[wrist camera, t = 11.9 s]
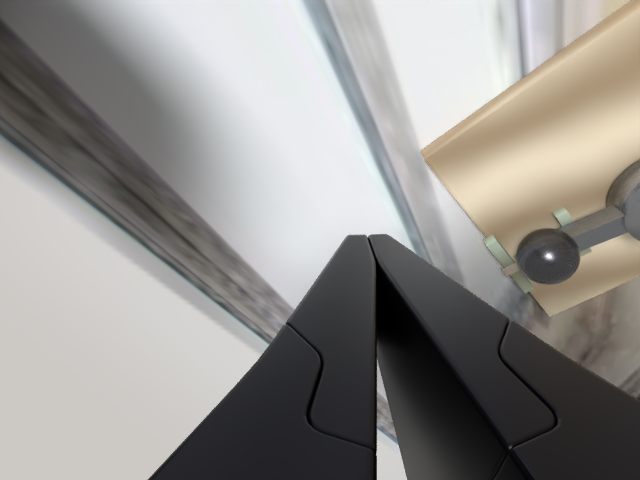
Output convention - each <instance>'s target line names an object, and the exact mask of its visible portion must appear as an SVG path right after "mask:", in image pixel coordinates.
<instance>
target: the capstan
mask: <svg viewBox="0 0 640 480" xmlns="http://www.w3.org/2000/svg"><path fill="white" fill-rule="evenodd" d="M628 232H629V233H630V234H631V235H632V236H633V237H634V238H635V239H637V240H639V241H640V159H639V160H637V161H636V162H634V163H633V164H631V165H630V166H629V167H628V168H626V169H625V170H624V171H623V172H622V173H621V174H620V175H619V176H618V177H617V179H616V180H615V181H614V183H613V184H612V186H611V188H610V190H609V192H608V196H607V208H604V209H602V210H600V211H597V212H595V213H593V214H590V215H588V216H586V217H583V218H581V219H578V220H576V221H574V222H571V223H569V224H567V225H564V226H562V227H560V228H557V229H553V228H543V229H538V230H535V231H533V232H531V233H529V234H527V235H526V236H525V237H524V238H523V239H522V240H521V242H520V243H519V245H518V248H517V252H516V260H517V264H518V267H519V269H520V270H521V272H522V273H523V274H524V275H525V276H526V277H527V278H529V279H530V280H532V281H534V282H536V283H540V284H545V285H553V284H558V283H561V282H564V281H566V280H567V279H569V278H570V277H571V276H572V275H573V274H574V273H575V272H576V271H577V269H578V267H579V264H580V251H583V250H585V249H588V248H590V247H593V246H595V245H598V244H600V243H603V242H605V241H608V240H610V239H613V238H615V237H618V236H620V235H623V234H625V233H628Z"/></svg>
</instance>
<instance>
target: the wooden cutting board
mask: <svg viewBox="0 0 640 480" xmlns="http://www.w3.org/2000/svg"><path fill="white" fill-rule="evenodd" d="M421 153H422V155H423V158H424V160H425V161H426V163H427V164H428V165H429V166H430V168H431V169H432V170H433V171H434V173H435V174H436V175H437V176H438V178H439V179H440V180H441V181H442V183H443V184H444V185H445V186H446V188H447V189H448V190H449V191H450V193H451V194H452V195H453V196H454V198H455V199H456V200H457V201H458V203H459V204H460V205H461V206H462V208H463V209H464V210H465V211H466V213H467V214H468V215H469V216H470V218H471V219H472V220H473V222H474V223H475V224H476V225H477V227H478V228H479V229H480V230H481V232H482V233H483V234H484V235H485V237H486V238H485V239H483V240H484V242H485V244H486V246H487V247H488V249H489V250H490V251H491V252H492V254H493V255H494V256H495V257H496V258H497V260H498V261H499V262H500V263H501V265H502V266H503V267H504V269H502V272H503V273H504V274H505V276H506V277H507V276H509V275H510V276H511V277H512V278H513V279H514V281H515V282H516V283H517V284H518V286H519V287H520V288H521V289H522V291H523V292H524V293H527V292H530V293H531V294H532V295H533V297H534V298H535V299H536V301H537V302H538V303H539V304H540V306H541V307H542V308H543V309H544V311H545V312H546V313H547V314H548V316H549V317H551V316H553V315H555V314H557V313H560V312H562V311H564V310H566V309H568V308H571V307H573V306H575V305H577V304H579V303H582V302H584V301H586V300H588V299H590V298H593V297H595V296H597V295H599V294H601V293H604V292H606V291H608V290H610V289H612V288H615V287H617V286H619V285H621V284H623V283H626V282H628V281H630V280H632V279H634V278H637V277H639V276H640V241H639V240H637V239H635V238H634V237H633V236H632V235H631V234H630V233H629V232H628V233H625V234H623V235H620V236H618V237H615V238H613V239H610V240H608V241H605V242H603V243H600V244H598V245H595V246H593V247H590V248H588V249H585V250H583V251H580V264H579V267H578V269H577V271H576V272H575V273H574V274H573V275H572V276H571V277H570V278H569V279H567V280H566V281H564V282H561V283H558V284H553V285H545V284H540V283H536V282H534V281H532V280H530V279H529V278H527V277H526V276H525V275H524V274H523V273H522V272H521V270H520V269H519V267H518V264H517V260H516V252H517V248H518V245H519V243H520V242H521V240H522V239H523V238H524V237H525V236H526V235H527V234H529V233H531V232H533V231H535V230H538V229H543V228H553V229H557V228H560V227H562V226H564V225H567V224H569V223H571V222H574V221H576V220H578V219H581V218H583V217H586V216H588V215H590V214H593V213H595V212H597V211H600V210H602V209H604V208H607V196H608V192H609V190H610V188H611V186H612V184H613V183H614V181H615V180H616V179H617V177H618V176H619V175H620V174H621V173H622V172H623V171H624V170H625V169H626V168H628V167H629V166H630V165H631V164H633V163H634V162H636V161H637V160H639V159H640V0H632V1H630V2H629V3H628V4H626V5H625V6H623V7H622V8H621V9H619V10H618V11H616V12H615V13H614V14H612V15H611V16H609V17H608V18H607V19H605V20H604V21H602V22H601V23H600V24H598V25H597V26H595V27H594V28H593V29H591V30H590V31H588V32H587V33H586V34H584V35H583V36H581V37H580V38H578V39H577V40H576V41H574V42H573V43H571V44H570V45H569V46H567V47H566V48H564V49H563V50H562V51H560V52H559V53H557V54H556V55H555V56H553V57H552V58H550V59H549V60H548V61H546V62H545V63H543V64H542V65H541V66H539V67H538V68H536V69H535V70H534V71H532V72H531V73H529V74H528V75H527V76H525V77H524V78H522V79H521V80H520V81H518V82H517V83H515V84H514V85H512V86H511V87H510V88H508V89H507V90H505V91H504V92H503V93H501V94H500V95H498V96H497V97H496V98H494V99H493V100H491V101H490V102H489V103H487V104H486V105H484V106H483V107H482V108H480V109H479V110H477V111H476V112H475V113H473V114H472V115H470V116H469V117H468V118H466V119H465V120H463V121H462V122H461V123H459V124H458V125H456V126H455V127H454V128H452V129H451V130H449V131H448V132H446V133H445V134H444V135H442V136H441V137H439V138H438V139H437V140H435V141H434V142H432V143H431V144H430V145H428V146H427V147H425V148H424V149H423V150H421Z"/></svg>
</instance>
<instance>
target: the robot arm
mask: <svg viewBox="0 0 640 480" xmlns="http://www.w3.org/2000/svg"><path fill="white" fill-rule="evenodd" d="M377 359H378V363H379V367H380V371H381V376H382V380H383V384H384V388H385V392H386V396H387V400H388V404H389V408H390V412H391V416H392V420H393V424H394V428H395V432H396V436H397V440H398V444H399V448H400V452H401V456H402V460H403V464H404V468H405V472H406V476H407V480H640V400H638V399H637V398H635V397H633V396H631V395H630V394H628V393H626V392H625V391H623V390H621V389H620V388H618V387H616V386H614V385H613V384H611V383H609V382H608V381H606V380H604V379H603V378H601V377H599V376H598V375H596V374H594V373H593V372H591V371H590V370H588V369H586V368H585V367H583V366H581V365H580V364H578V363H576V362H575V361H573V360H572V359H570V358H568V357H567V356H565V355H563V354H562V353H560V352H559V351H557V350H556V349H554V348H553V347H551V346H550V345H548V344H547V343H545V342H544V341H542V340H541V339H539V338H538V337H536V336H535V335H533V334H532V333H530V332H529V331H527V330H526V329H524V328H523V327H521V326H520V325H519V324H517V323H516V322H514V321H510V322H509V319H508V318H507V317H506V316H504V315H503V314H501V313H500V312H499V311H497V310H496V309H494V308H493V307H491V306H490V305H488V304H487V303H486V302H484V301H483V300H481V299H480V298H478V297H477V296H476V295H474V294H473V293H471V292H470V291H468V290H467V289H465V288H464V287H463V286H461V285H460V284H458V283H457V282H455V281H454V280H453V279H451V278H450V277H448V276H447V275H445V274H444V273H442V272H441V271H440V270H438V269H437V268H435V267H434V266H432V265H431V264H430V263H428V262H427V261H425V260H424V259H422V258H421V257H419V256H418V255H417V254H415V253H414V252H412V251H411V250H409V249H408V248H407V247H405V246H404V245H402V244H401V243H399V242H398V241H396V240H395V239H394V238H392V237H391V236H389V235H387V234H376V235H369V236H368V237H367V236H366V235H348V236H346V238H345V239H344V241H343V242H342V243H341V245H340V246H339V248H338V249H337V251H336V252H335V253H334V255H333V256H332V258H331V259H330V261H329V262H328V263H327V265H326V266H325V268H324V269H323V271H322V272H321V274H320V275H319V276H318V278H317V279H316V281H315V282H314V284H313V285H312V286H311V288H310V289H309V291H308V292H307V294H306V295H305V296H304V298H303V299H302V301H301V302H300V304H299V305H298V306H297V308H296V309H295V311H294V312H293V314H292V315H291V316H290V318H289V319H288V321H287V322H286V325H284V326H283V327H282V328H281V330H280V331H279V333H278V334H277V335H276V337H275V338H274V340H273V341H272V342H271V344H270V345H269V346H268V348H267V349H266V350H265V352H264V353H263V354H262V355H261V357H260V358H259V359H258V361H257V362H256V363H255V364H254V365H253V366H252V367H251V369H250V370H249V371H248V372H247V373H246V374H245V375H244V377H243V378H242V379H241V380H240V381H239V382H238V383H237V384H236V386H235V387H234V388H233V389H232V390H231V391H230V392H229V393H228V394H227V395H226V396H225V397H224V399H223V400H222V401H221V402H220V403H219V404H218V405H217V406H216V407H215V408H214V409H213V410H212V411H211V412H210V414H209V415H208V416H207V417H206V418H205V419H204V420H203V421H202V422H201V423H200V424H199V425H198V426H197V427H196V429H195V430H194V431H193V432H192V433H191V434H190V435H189V436H188V437H187V438H186V439H185V441H183V442H182V444H181V445H180V446H179V447H178V448H177V449H176V450H175V451H174V452H173V453H172V454H171V455H170V456H169V457H168V459H167V460H166V461H165V462H164V463H163V464H162V465H161V466H160V467H159V468H158V469H157V470H156V471H155V472H154V474H153V475H152V476H151V477H150V478H149V479H148V480H377V456H376V451H377Z"/></svg>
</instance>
